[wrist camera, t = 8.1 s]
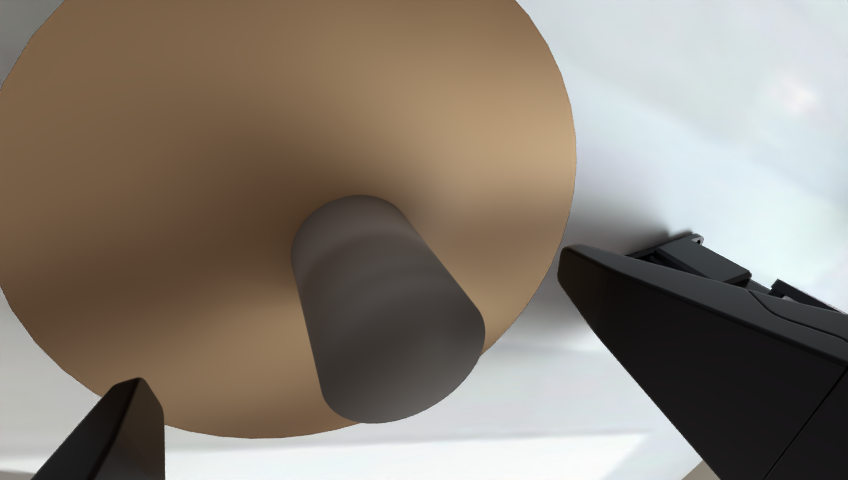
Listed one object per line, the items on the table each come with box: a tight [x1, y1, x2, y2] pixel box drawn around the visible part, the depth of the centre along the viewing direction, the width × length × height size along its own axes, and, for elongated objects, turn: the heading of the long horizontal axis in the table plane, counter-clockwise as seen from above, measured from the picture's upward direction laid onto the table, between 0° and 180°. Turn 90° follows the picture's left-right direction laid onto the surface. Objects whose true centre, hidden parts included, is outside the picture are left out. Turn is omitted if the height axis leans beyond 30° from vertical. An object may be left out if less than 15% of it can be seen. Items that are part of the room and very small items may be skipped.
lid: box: [0, 0, 576, 439], centre depth 9 cm, size 14×14×5 cm
